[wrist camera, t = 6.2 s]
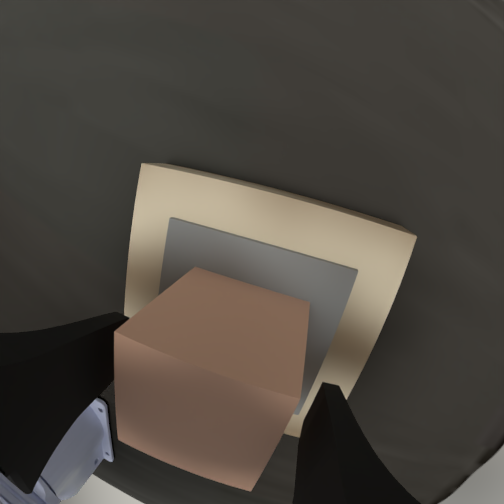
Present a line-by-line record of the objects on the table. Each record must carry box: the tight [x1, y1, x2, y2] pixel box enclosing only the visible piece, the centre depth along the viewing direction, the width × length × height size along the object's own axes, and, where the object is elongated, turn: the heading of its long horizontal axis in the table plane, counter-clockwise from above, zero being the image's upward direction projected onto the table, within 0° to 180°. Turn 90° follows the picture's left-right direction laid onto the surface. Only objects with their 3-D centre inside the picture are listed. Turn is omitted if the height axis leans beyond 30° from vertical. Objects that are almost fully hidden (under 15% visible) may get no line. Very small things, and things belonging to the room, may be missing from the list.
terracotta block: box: [114, 267, 310, 491], centre depth 11 cm, size 5×5×6 cm
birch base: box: [124, 163, 417, 437], centre depth 15 cm, size 12×12×3 cm
